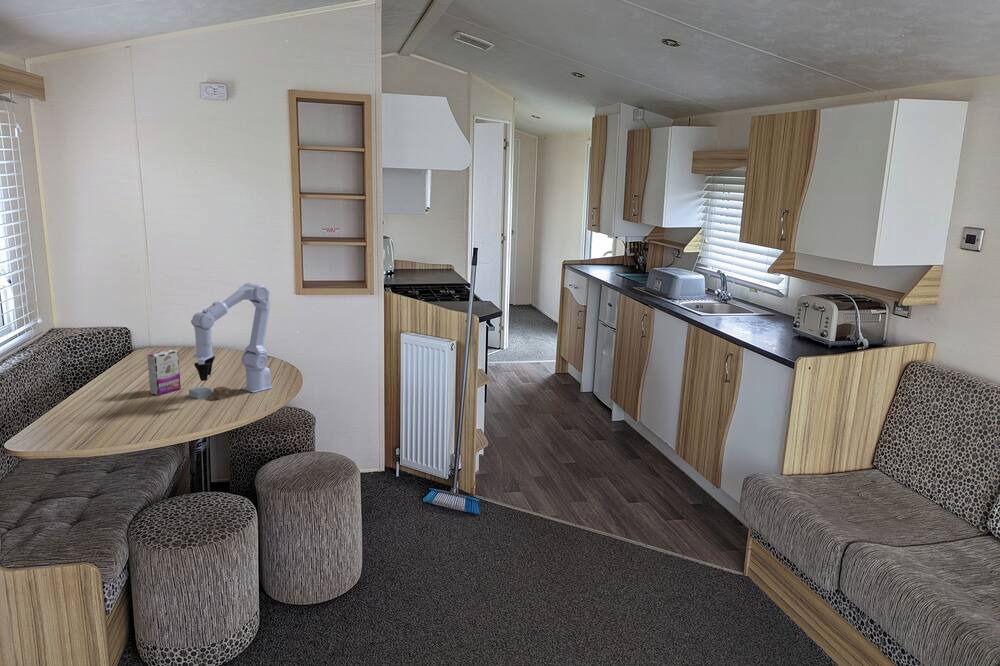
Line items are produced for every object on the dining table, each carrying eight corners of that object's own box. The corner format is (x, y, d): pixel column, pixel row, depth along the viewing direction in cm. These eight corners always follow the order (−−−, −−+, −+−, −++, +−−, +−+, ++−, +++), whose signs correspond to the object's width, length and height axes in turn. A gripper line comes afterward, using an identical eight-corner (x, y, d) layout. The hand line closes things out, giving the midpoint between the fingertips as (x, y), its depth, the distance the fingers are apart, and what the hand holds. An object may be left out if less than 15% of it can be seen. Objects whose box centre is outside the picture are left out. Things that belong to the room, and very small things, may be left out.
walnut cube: (222, 395, 285) (222, 386, 284) (228, 397, 283) (228, 388, 282) (213, 398, 282) (213, 388, 281) (219, 400, 280) (219, 390, 279)
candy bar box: (172, 387, 293) (170, 348, 290) (181, 389, 291) (179, 350, 288) (149, 394, 283) (146, 354, 280) (158, 396, 281) (155, 356, 278)
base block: (202, 393, 288) (202, 386, 287) (211, 396, 284) (211, 389, 284) (189, 396, 283) (188, 389, 282) (198, 399, 280) (197, 392, 279)
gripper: (196, 339, 278) (198, 372, 281) (188, 348, 265) (190, 383, 268) (215, 339, 280) (217, 372, 283) (208, 348, 266) (210, 382, 269)
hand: (205, 377), depth 275 cm, fingers open, 7 cm apart
